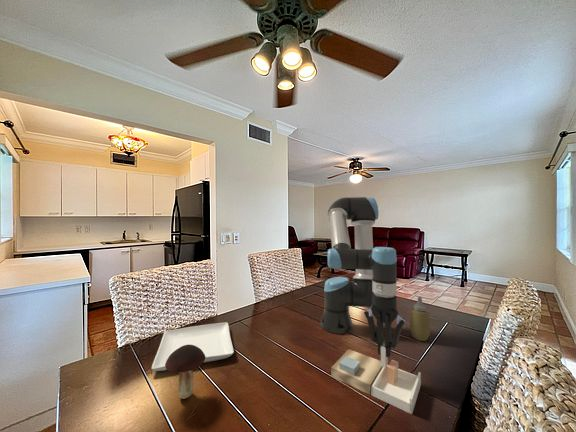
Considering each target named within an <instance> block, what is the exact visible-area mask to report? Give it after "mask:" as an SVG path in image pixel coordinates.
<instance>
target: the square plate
mask: <svg viewBox="0 0 576 432" xmlns="http://www.w3.org/2000/svg"><path fill="white" fill-rule="evenodd" d="M184 345H194V346H197V347H198V348H200V349H201V350H202V351H203V353H204V354H205V360H204V362H203V363H208V362H213V361H214V362H215V361H220V360H225V359H228V358H229V357H231V356H232V355H233V354H234V353H235V351H234V350H235V349H234V347H233V342H232V338H231V332H230V327H229V323H228V321H226V322H219V323H217V322H216V323H208V324H201V325H200V324H199V325H194V326H188V327H187V326H186V327H181V328H176V329H168V330H166V331H164V332H163V335H162V338H161V340H160V343H159V347H158V349H157V352H156V354H155V357H154V359H153V361H152V365H151V370H152V371H155V372H160V371H168V370H167V369H166V367H165V363H166V361H167V359H168V357H169V356H170V355H171V354H172V353H173V352H174V351H175V350H176V349H178V348H180V347H182V346H184Z"/></svg>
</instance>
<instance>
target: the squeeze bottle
mask: <svg viewBox="0 0 576 432" xmlns="http://www.w3.org/2000/svg"><path fill="white" fill-rule="evenodd" d="M410 312H411V313H410V322H409V330H410V332H411V337H412V338H413V339H414V340H416V341H419V342H420V341H422V342H427V341H428V340H429V337H430V335H431V323H430V313H429V312H428V311H427V307H426V305H424V303H423V298H422V297H421V296H418V297H417V301H416V303H415V304H413V308H412V309H411V311H410Z"/></svg>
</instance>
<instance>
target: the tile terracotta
mask: <svg viewBox="0 0 576 432" xmlns="http://www.w3.org/2000/svg"><path fill="white" fill-rule="evenodd" d="M388 365H389V366H388V370H387V383H389V384H391V385H394V384H395V382H396V380H397V378H398V369H399V361H397V360H394V359H391V361H390V362H389V363H388Z"/></svg>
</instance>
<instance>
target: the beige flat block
mask: <svg viewBox="0 0 576 432" xmlns="http://www.w3.org/2000/svg"><path fill="white" fill-rule="evenodd" d="M345 356H347V357H350V358H352V359H355V360H357V361H360V368H359V369H358V371H357V372H356V373H355V375H352V374H350V373H347V372H345V371H343V370H341V369H339V363H340V362H341V361H342V360H343V359H344V357H345ZM330 368H331V369H330V371H331V373H330V376H331V378H333V379H336V380H338V381H340V382H342V383H344V384H346V385H348V386H351V387H353V388H355V389H357V390H359V391H361V392H363V393H365V394H368V395H371V386H372V384H373V383H374V381H375V379H376V378H377V376H378V374H379V373H380V371H381V369H382V367H381V360H380V359H377V358H373V357H371V356H369V355H366V354H363V353H360V352H357V351H355V350H352V349H349V348H348V349H347V350H346V351H345V353H343V355H342V356H341V357H340V358H338V360H336V362H335V363H334V364H333V365H332V366H331V367H330Z"/></svg>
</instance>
